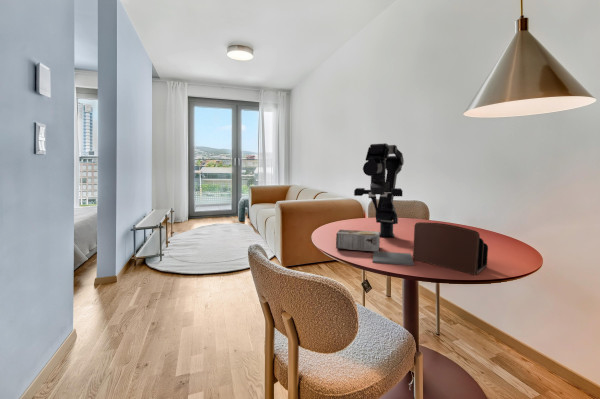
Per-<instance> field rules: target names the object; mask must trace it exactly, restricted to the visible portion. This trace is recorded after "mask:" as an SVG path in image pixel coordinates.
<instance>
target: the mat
mask: <svg viewBox="0 0 600 399" xmlns="http://www.w3.org/2000/svg"><path fill="white" fill-rule="evenodd" d="M372 252H373V254H372V264H373V263H375V264H388V265H399V266H412V267H413V266H414V264H415V263H414V260H413V255H412V254H411V253H408V252H393V251H392V252H391V251H378V252H376V251H372Z"/></svg>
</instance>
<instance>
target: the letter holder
mask: <svg viewBox="0 0 600 399" xmlns="http://www.w3.org/2000/svg"><path fill="white" fill-rule="evenodd" d="M412 249H413V250H412V251H413V252H412V260H413V261H418V262H422V263H426V264H429V265H434V266H438V267H442V268H446V269H450V270H453V271H458V272H461V273H465V274H469V275H472V276H478V275H479V274H480V273H481V272H483V271H484V270H485V269H486V268H487V267H488V255H489V245H488V244H487V243H485V241H484V240H483V238H481V237H480V233H479V232H478V231H476V230H475V229H470V228H467V227H463V226H458V225H453V224H447V223H441V222H422V221H420V222H419V221H418V222H416V223H415V224H414V230H413V248H412Z"/></svg>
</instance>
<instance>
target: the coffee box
mask: <svg viewBox="0 0 600 399" xmlns="http://www.w3.org/2000/svg"><path fill="white" fill-rule="evenodd" d="M380 238H381V237H380V231H376V230H375V231H372V230H371V231H370V230H352V229H350V230H349V229H339V230H338V231H337V232H336V237H335V247H336V248H335V249H338V250H349V251H350V250H352V251H364V252H374V251H376V252H378V251H379V250H380V243H381V241H380ZM379 252H380V251H379Z"/></svg>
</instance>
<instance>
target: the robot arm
mask: <svg viewBox="0 0 600 399" xmlns="http://www.w3.org/2000/svg"><path fill="white" fill-rule="evenodd" d="M365 161H366V162H365V163H364V164H363V165H362V166H363V167H362V171H363V174H365V175H366V176H368V177H370V189H366V188H364V187H356V188H355V189H354V190H353V196H355V197H357V196H358V197H362V196H363V195H368V199H371V201H372V204H373V206H374V210H375V222H376V223H379V227H380V228H379V232H380V238H395V233H394V225H398V223H399V218H398V214H397V211H396V207H395V205H394V197H403V190H402V188H401V187H400V188H399V187H397V188H396V184H397V178H398V177H397V176H398V174H399V173H401V171H402V167H403V166H404V163H405V162H404V161H405V160H404V156H403V152H401V151H400V150H399V149H398V147H397V145H396V144H387V143H385V142H384V143H370V145H369V147H368V149H367V152H366V157H365ZM377 195H379V197H378V198H379V200H378V202H377Z"/></svg>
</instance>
